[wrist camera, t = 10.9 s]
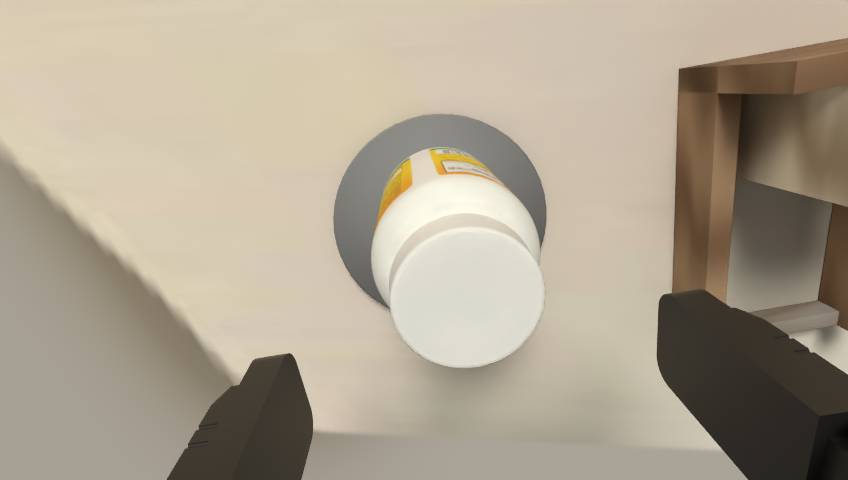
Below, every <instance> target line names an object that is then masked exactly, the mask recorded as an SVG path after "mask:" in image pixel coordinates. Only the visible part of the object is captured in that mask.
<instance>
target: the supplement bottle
mask: <svg viewBox="0 0 848 480" xmlns="http://www.w3.org/2000/svg"><path fill="white" fill-rule="evenodd" d="M539 263H540V242H539V237H538V233H537V230H536V227H535V224H534V222H533V219H532V218H531V216H530V214H529V212H528V211H527V209H526V208H525V206H524V205H523V204H522V203H521V202H520V200H519V199H518V198H517V197H516V196H515V195H514V194H513V193H512V192H511V191H510V190H509V189H508V188H507V187H506V186H505V185H504V184H503V183H502V182H501V181H500V180H499V179H498V178H497V177H496V176H495V175H494V174H493V173H492V172H491V171H490V170H489V169H488V168H487V167H486V166H485V165H484V164H483V163H482V162H480V161H479V160H478V159H476V158H475V157H473V156H472V155H470V154H468V153H466V152H464V151H461V150H458V149H454V148H447V147H435V148H429V149H425V150H422V151H419V152H417V153H415V154H413V155H411V156H410V157H408V158H407V159H405V160H404V161H403V162H402V163H400V164H399V165H398V166H397V168H396V169H395V170H394V171H393V173H392V174H391V176H390V178H389V179H388V181H387V183H386V186H385V188H384V192H383V196H382V200H381V204H380V209H379V214H378V219H377V223H376V228H375V233H374V237H373V242H372V249H371V265H372V272H373V277H374V281H375V283H376V286H377V289H378V291H379V293H380V294H381V296H382V298H383V300H384V301H385V303H386V304H387V305H388V307H389V308H390V311H391V316H392V319H393V322H394V325H395V327H396V329H397V331H398V333H399V335H400V336H401V337H402V339H403V340H404V342H405V343H406V344H407V345H408V346H409V347H410V348H411V349H412V350H413V351H415V352H416V353H417V354H419V355H420V356H421V357H423V358H425V359H427V360H429V361H431V362H433V363H436V364H439V365H443V366H447V367H453V368H474V367H481V366H485V365H488V364H491V363H494V362H497V361H499V360H501V359H503V358H505V357H507V356H508V355H510V354H512V353H513V352H514V351H516V350H517V349H518V348H519V347H520V346H522V345H523V344H524V343H525V341H526V340H527V339H528V338H529V337H530V335H531V334H532V333H533V332H534V330H535V329H536V327H537V325H538V323H539V321H540V318H541V315H542V312H543V308H544V303H545V284H544V279H543V276H542V272H541V270H540V267H539Z"/></svg>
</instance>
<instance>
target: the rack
mask: <svg viewBox="0 0 848 480" xmlns="http://www.w3.org/2000/svg"><path fill="white" fill-rule="evenodd" d="M736 177H738V178H742V179H745V180H749V181H753V182H757V183H760V184H764V185H768V186H772V187H775V188H779V189H783V190H786V191H790V192H794V193H798V194H801V195H805V196H809V197H813V198H816V199H820V200H824V201H827V202H831V203H834V205H833V211H832V217H831V224H830V230H829V236H828V242H827V249H826V255H825V261H824V267H823V274H822V280H821V286H820V292H819V299H818V301H813V302H807V303H802V304H796V305H790V306H784V307H779V308H773V309H767V310H762V311H756V312H750V314H752V315H755V316H757V317H760V318H763V319H765V320H766V321H768V322H769V323H771V324H772V325H774V326H775V327H777V328H778V329H780V330H781V331H783V332H784V333H786V334H787V333H793V332H799V331H804V330H810V329H816V328H822V327H827V326H833V325H838V326H840V327H842V328H844V329H845V330H847V331H848V38H847V39H841V40H836V41H830V42H825V43H819V44H814V45H808V46H803V47H797V48H792V49H786V50H781V51H775V52H769V53H764V54H758V55H753V56H747V57H742V58H736V59H731V60H725V61H720V62H714V63H709V64H703V65H698V66H692V67H687V68H681V69H679V99H678V133H677V166H676V200H675V233H674V267H673V293H677V292H683V291H689V290H695V289H703V290H706V291H708V292H709V293H710V294H712V295H713V296H715V297H716V298H718V299H719V300H720V301H722V302H723V303H725V304H726V294H727V281H728V268H729V256H730V243H731V230H732V217H733V204H734V191H735V178H736Z"/></svg>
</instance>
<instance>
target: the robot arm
mask: <svg viewBox="0 0 848 480" xmlns="http://www.w3.org/2000/svg"><path fill="white" fill-rule="evenodd" d="M657 362H658V366H659V370H660V372H661V375H662V377H663V379H664V381H665V382H666V384H667V385H668V386H669V388H670V389H671V390H672V391H673V392H674V393H675V395H676V396H677V397H678V398H679V399H680V400H681V402H682V403H683V404H684V405H685V406H686V407H687V409H688V410H689V411H690V412H691V413H692V414H693V416H694V417H695V418H696V419H697V420H698V421H699V423H700V424H701V425H702V426H703V427H704V428H705V430H706V431H707V432H708V433H709V434H710V436H711V437H712V438H713V439H714V440H715V441H716V443H717V444H718V445H719V446H720V447H721V448H722V450H723V451H724V452H725V453H726V454H727V455H728V456H729V458H730V459H731V460H732V461H733V462H734V464H735V465H736V466H737V467H738V468H739V469H740V471H741V472H742V473H743V474H744V475H745V476H746V478H747V479H748V480H848V375H847V374H846V373H844V372H843V371H841V370H840V369H838V368H837V367H835V366H834V365H832V364H831V363H829V362H828V361H826V360H825V359H823V358H822V357H820V356H819V355H817V354H816V353H814V352H813V353H810V351H809V349H808V348H807V347H805V346H804V345H802V344H801V343H799V342H798V341H796V340H795V339H790V338H789V336H788V335H787V334H786V333H784V332H783V331H781V330H780V329H778V328H777V327H775V326H774V325H772V324H771V323H769V322H768V321H766V320H765V319H763V318H760V317H757V316H755V315H752V314H750V313H747V312H745V311H742V310H739V309H737V308H730V307H729V306H728V305H726V304H725V303H723V302H722V301H720V300H719V299H718V298H716V297H715V296H713V295H712V294H710V293H709V292H708V291H706V290H703V289H695V290H689V291H683V292H677V293H670V294H665V295H663V296H662V297H661V298H660V301H659V308H658V334H657ZM312 435H313V417H312V411H311V407H310V404H309V401H308V398H307V394H306V391H305V388H304V385H303V382H302V379H301V376H300V372H299V369H298V366H297V363H296V360H295V358H294V357H293V355H292V354H290V353H288V354H282V355H275V356H269V357H263V358H257V359H254V360H253V361H252V363H251V364H250V366H249V368H248V370H247V372H246V374H245V375H244V377H243V379H242V381H241V383H240V385H237V386H231V387H230V388H229V389H228V390H227V391H226V392H225V393H224V394H223V395H222V396H221V397H220V398H218V399H217V400H216V401H215V402H214V403H213V404H212V405H211V407H210V408H209V410H208V412H207V413H206V415H205V417H204V418H203V420H202V422H201V423H200V425H199V430H196V432H195V433H194V435H193V437H192V438H191V440H190V442H189V443H188V448H187V449H185V450H184V452H183V454H182V455H181V457H180V458H179V460H178V462H177V463H176V465H175V467H174V468H173V470H172V472H171V473H170V475H169V477H168V478H167V480H301V478H302V474H303V471H304V467H305V463H306V459H307V455H308V452H309V448H310V444H311V440H312Z"/></svg>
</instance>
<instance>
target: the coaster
mask: <svg viewBox="0 0 848 480" xmlns="http://www.w3.org/2000/svg"><path fill="white" fill-rule="evenodd" d="M435 147H447V148H454V149H458V150H461V151H464V152H466V153H468V154H470V155H472V156H473V157H475V158H476V159H478V160H479V161H480V162H482V163H483V164H484V165H485V166H486V167H487V168H488V169H489V170H490V171H491V172H492V173H493V174H494V175H495V176H496V177H497V178H498V179H499V180H500V181H501V182H502V183H503V184H504V185H505V186H506V187H507V188H508V189H509V190H510V191H511V192H512V193H513V194H514V195H515V196H516V197H517V198H518V199H519V200H520V202H521V203H522V204H523V205H524V206H525V208H526V209H527V211H528V212H529V214H530V216H531V218H532V219H533V222H534V224H535V227H536V230H537V233H538V237H539V242H540V248H541V245H542V241H543V237H544V233H545V226H546V202H545V195H544V191H543V187H542V184H541V181H540V178H539V176H538V174H537V172H536V169H535V167H534V166H533V164H532V163H531V161H530V160H529V158H528V156H527V155H526V154H525V153H524V152H523V150H522V149H521V148H520V147H519V146H518V145H517V144H516V143H515V142H514V141H513V140H511V139H510V138H509V137H508V136H507V135H505V134H504V133H502V132H501V131H499V130H497V129H496V128H494V127H492V126H490V125H488V124H486V123H483V122H481V121H479V120H475V119H472V118H469V117H465V116H459V115H453V114H432V115H423V116H419V117H415V118H411V119H407V120H405V121H402V122H400V123H397V124H395V125H393V126H391V127H389V128H388V129H386V130H384V131H382V132H381V133H380V134H378V135H377V136H376V137H374V138H373V139H372V140H371V141H369V142H368V143H367V144H366V145H365V146H364V148H363V149H362V150H361V151H360V152H359V153H358V154H357V156H356V157H355V158H354V160H353V161H352V162H351V164H350V166H349V167H348V169H347V171H346V173H345V174H344V176H343V179H342V181H341V184H340V186H339V189H338V192H337V197H336V201H335V207H334V233H335V238H336V243H337V247H338V250H339V253H340V256H341V258H342V260H343V262H344V264H345V266H346V268H347V270H348V271H349V273H350V274H351V276H352V277H353V279H354V280H355V281H356V282H357V283H358V284H359V286H360V287H361V288H362V289H363V290H364V291H365V292H367V293H368V294H369V295H370V296H371V297H372V298H374V299H375V300H377V301H378V302H380V303H381V304H383V305H385V306H387V307H388V305H387V304H386V303H385V301H384V300H383V298H382V296H381V294H380V293H379V291H378V289H377V286H376V283H375V281H374V277H373V272H372V265H371V249H372V242H373V237H374V233H375V228H376V223H377V219H378V214H379V209H380V204H381V200H382V196H383V192H384V188H385V186H386V183H387V181H388V179H389V178H390V176H391V174H392V173H393V171H394V170H395V169H396V168H397V166H398V165H399V164H400V163H402V162H403V161H404V160H405V159H407V158H408V157H410V156H411V155H413V154H415V153H417V152H419V151H422V150H425V149H429V148H435Z"/></svg>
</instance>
